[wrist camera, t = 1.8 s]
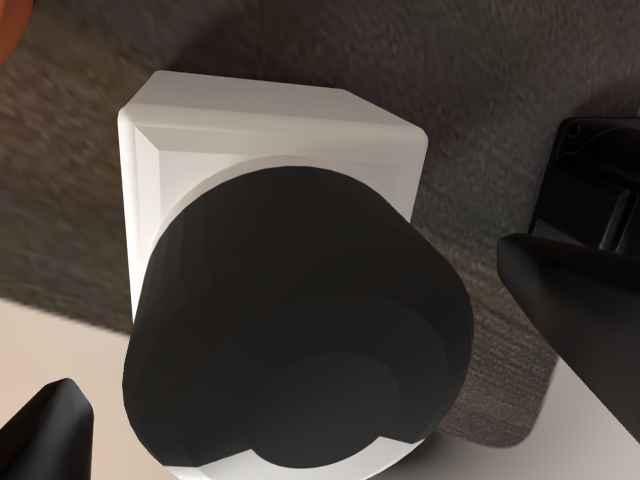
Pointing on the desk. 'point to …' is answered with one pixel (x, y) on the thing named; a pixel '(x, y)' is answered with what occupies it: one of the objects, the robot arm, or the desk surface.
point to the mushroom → (12, 24)
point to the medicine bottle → (281, 282)
